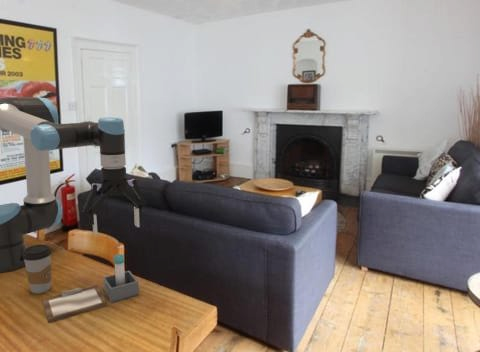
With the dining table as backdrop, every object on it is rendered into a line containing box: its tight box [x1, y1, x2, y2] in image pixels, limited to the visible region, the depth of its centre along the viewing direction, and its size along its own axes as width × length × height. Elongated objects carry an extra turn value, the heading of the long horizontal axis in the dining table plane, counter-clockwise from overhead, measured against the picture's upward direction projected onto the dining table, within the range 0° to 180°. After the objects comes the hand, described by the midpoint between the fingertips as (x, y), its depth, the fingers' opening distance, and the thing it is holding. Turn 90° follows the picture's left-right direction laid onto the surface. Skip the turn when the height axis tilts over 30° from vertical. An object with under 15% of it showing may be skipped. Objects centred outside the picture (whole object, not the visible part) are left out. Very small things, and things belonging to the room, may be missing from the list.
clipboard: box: [42, 284, 108, 324], centre depth 117 cm, size 13×17×2 cm
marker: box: [113, 253, 126, 287], centre depth 123 cm, size 3×3×13 cm
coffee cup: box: [23, 244, 52, 295], centre depth 124 cm, size 8×8×15 cm
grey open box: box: [102, 270, 140, 304], centre depth 124 cm, size 9×9×5 cm
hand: (116, 229), depth 120 cm, fingers open, 13 cm apart
